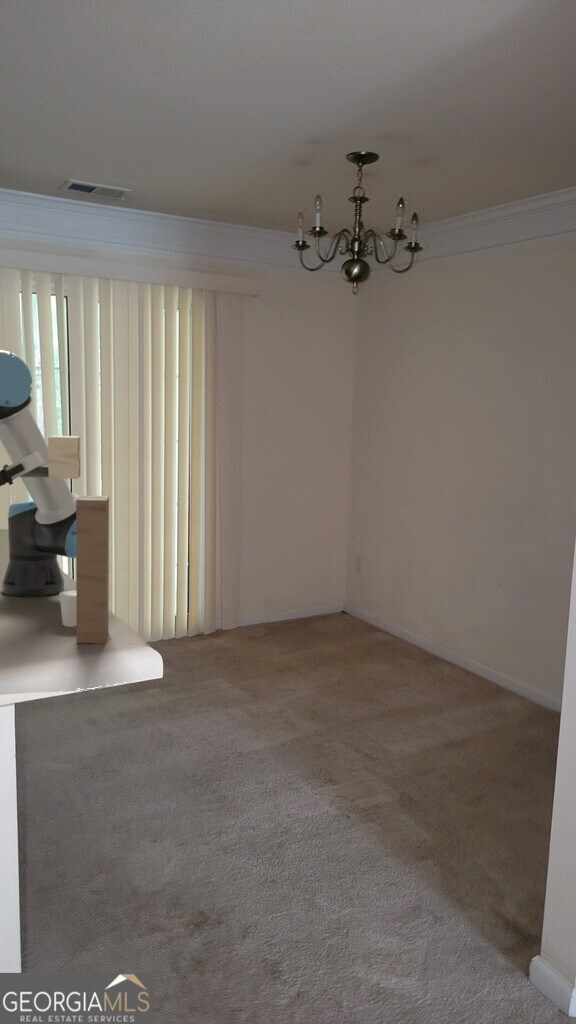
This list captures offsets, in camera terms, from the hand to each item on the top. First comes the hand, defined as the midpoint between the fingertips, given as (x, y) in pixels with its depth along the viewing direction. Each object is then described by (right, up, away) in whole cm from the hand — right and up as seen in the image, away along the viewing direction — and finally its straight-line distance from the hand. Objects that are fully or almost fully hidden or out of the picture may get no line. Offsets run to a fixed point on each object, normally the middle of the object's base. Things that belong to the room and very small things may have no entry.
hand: (39, 457), depth 152 cm
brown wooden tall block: (+9, -37, +7) cm, 38 cm away
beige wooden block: (0, -4, 0) cm, 4 cm away
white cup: (+2, -35, +17) cm, 39 cm away
